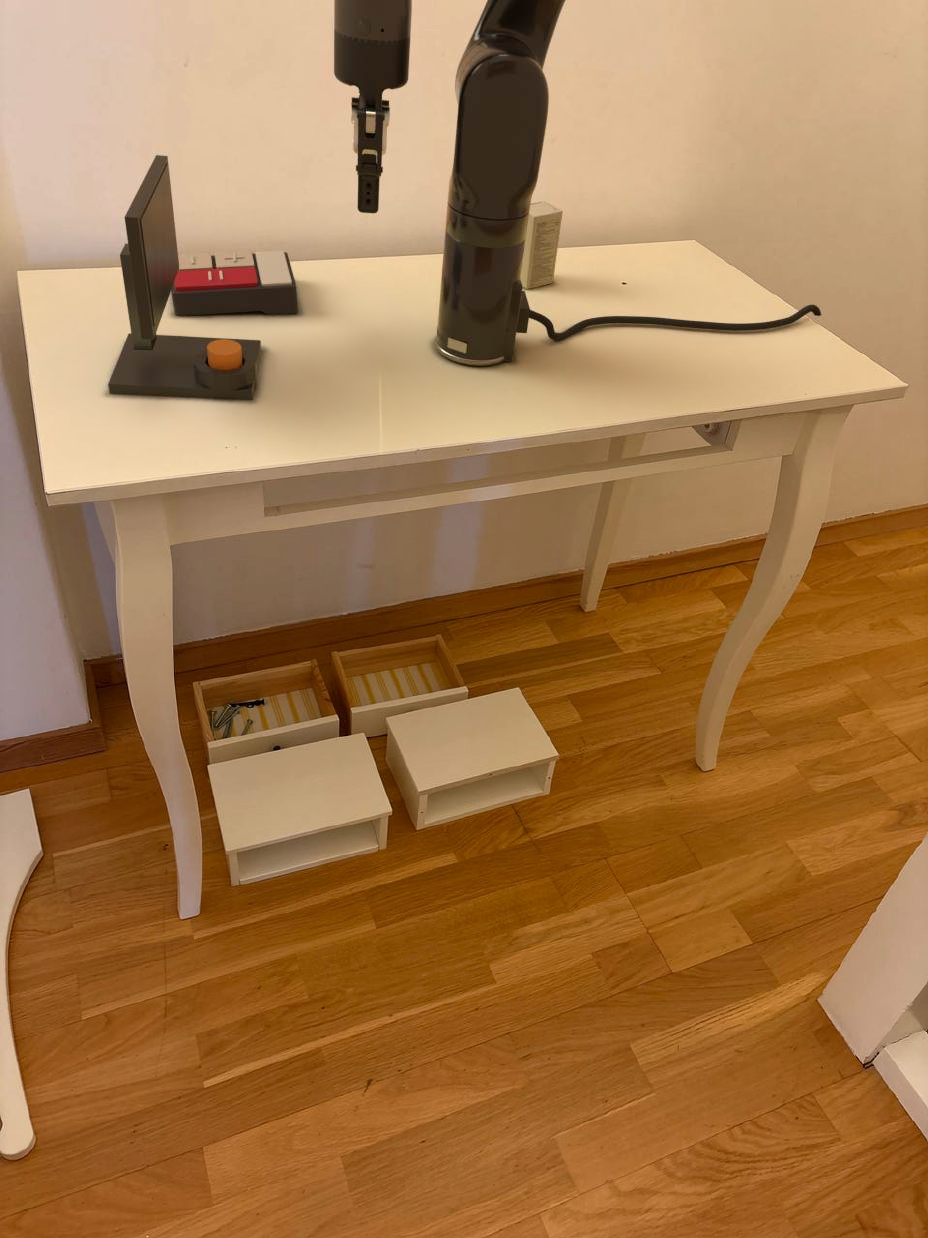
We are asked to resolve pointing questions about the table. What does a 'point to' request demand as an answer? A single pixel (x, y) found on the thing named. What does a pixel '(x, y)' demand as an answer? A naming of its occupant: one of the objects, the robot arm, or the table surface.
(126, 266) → the monitor stand
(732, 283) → the table surface
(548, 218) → the cream printed box
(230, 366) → the power button
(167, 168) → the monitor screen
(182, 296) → the calculator
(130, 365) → the monitor base
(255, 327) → the table surface
